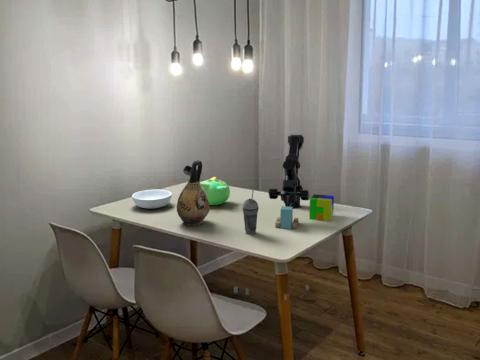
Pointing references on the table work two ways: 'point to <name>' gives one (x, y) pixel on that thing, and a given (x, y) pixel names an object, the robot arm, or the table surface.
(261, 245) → the table surface
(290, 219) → the block
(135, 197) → the serving bowl
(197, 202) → the ceramic jug
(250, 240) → the table surface
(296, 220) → the chute
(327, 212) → the puzzle toy
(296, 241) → the table surface
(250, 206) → the beverage cup
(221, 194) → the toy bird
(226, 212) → the table surface
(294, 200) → the robot arm
